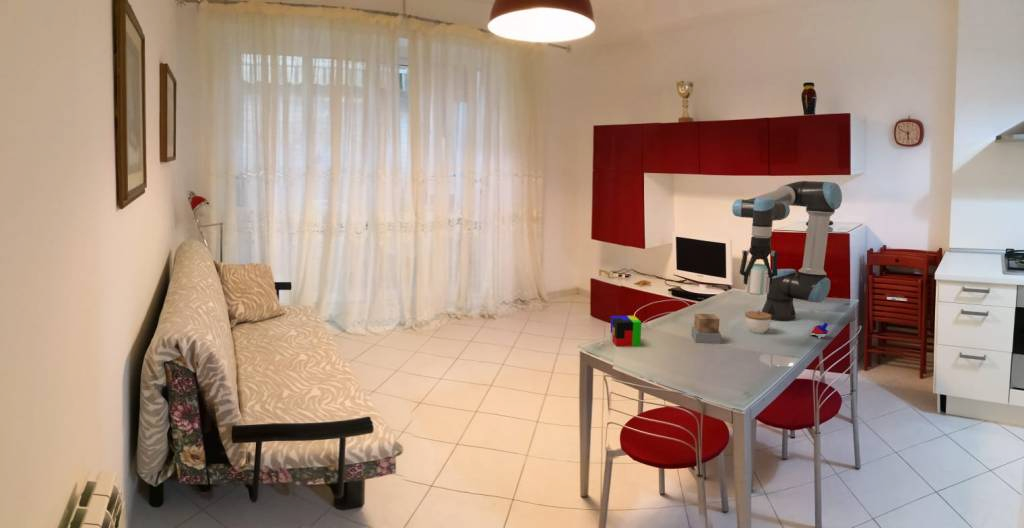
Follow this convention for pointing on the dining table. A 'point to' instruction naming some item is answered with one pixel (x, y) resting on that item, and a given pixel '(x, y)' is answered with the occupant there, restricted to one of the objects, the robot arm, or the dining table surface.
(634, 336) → the puzzle toy
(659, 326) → the dining table surface
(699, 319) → the walnut brick
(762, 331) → the lidded jar
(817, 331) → the multicoloured piece
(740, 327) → the dining table surface
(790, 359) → the dining table surface
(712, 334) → the tower base
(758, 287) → the can
